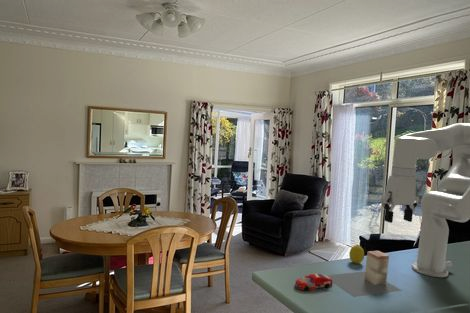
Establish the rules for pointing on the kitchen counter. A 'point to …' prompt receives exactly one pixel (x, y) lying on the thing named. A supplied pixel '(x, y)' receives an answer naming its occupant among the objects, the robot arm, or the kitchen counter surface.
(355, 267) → the kitchen counter surface
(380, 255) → the wooden block
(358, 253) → the lemon
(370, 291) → the rubber mat
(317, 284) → the race car
